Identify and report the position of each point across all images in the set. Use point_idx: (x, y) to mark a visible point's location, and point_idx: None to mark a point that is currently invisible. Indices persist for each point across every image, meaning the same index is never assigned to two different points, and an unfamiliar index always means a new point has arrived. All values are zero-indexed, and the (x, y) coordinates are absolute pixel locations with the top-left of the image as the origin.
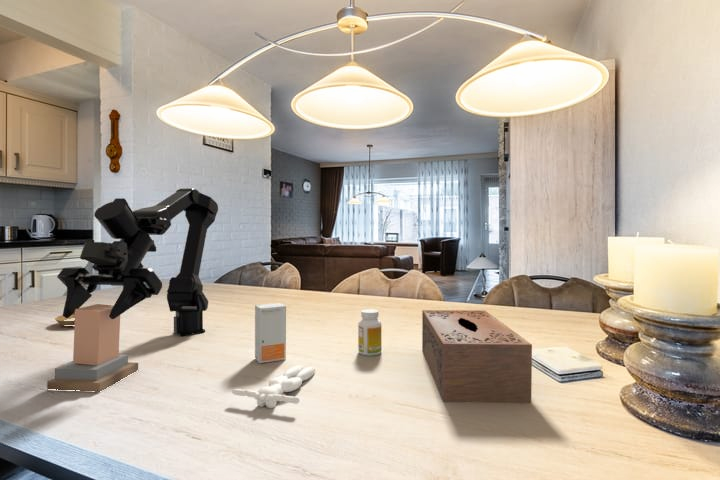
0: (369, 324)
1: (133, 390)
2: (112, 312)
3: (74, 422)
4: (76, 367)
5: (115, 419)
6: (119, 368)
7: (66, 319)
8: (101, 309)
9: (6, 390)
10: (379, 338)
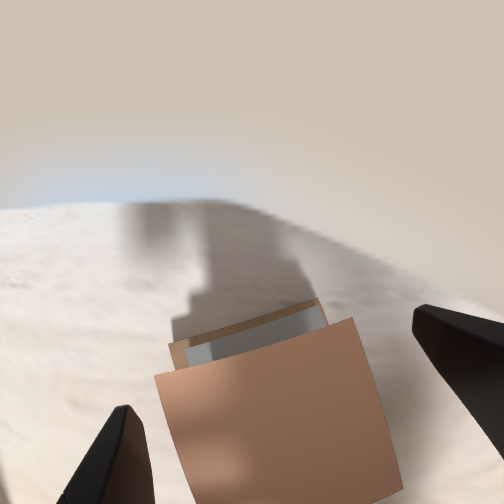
0: None
1: (110, 382)
2: (108, 419)
3: (98, 238)
4: (265, 337)
5: (45, 271)
6: None
7: None
8: (208, 423)
9: (394, 266)
10: None
